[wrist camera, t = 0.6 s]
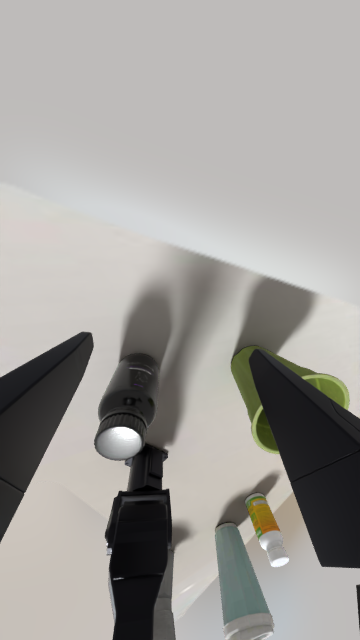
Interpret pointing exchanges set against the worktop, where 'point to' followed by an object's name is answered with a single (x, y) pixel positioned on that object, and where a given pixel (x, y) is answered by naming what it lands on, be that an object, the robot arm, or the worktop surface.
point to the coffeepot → (165, 606)
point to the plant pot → (255, 410)
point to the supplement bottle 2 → (266, 529)
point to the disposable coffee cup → (240, 589)
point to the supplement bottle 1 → (128, 408)
